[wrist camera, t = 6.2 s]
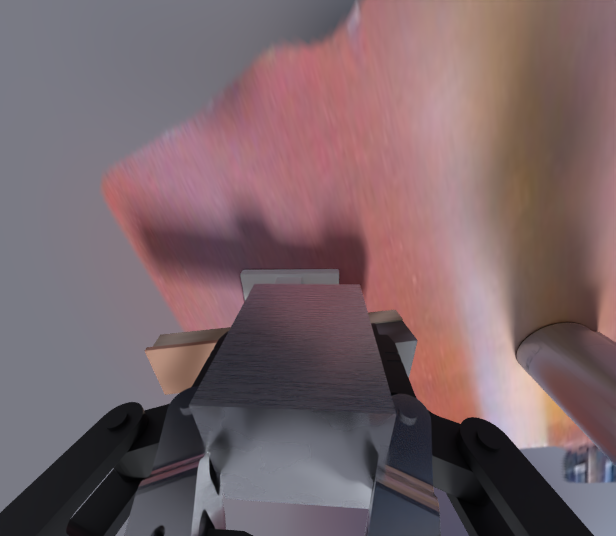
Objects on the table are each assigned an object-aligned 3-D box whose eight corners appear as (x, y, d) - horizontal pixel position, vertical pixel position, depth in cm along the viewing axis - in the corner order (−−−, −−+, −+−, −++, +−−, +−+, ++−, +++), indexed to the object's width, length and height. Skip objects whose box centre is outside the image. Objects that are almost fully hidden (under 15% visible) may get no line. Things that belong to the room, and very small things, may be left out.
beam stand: (338, 268, 28) (345, 314, 20) (336, 337, 33) (341, 397, 25) (242, 269, 29) (212, 314, 21) (254, 336, 34) (233, 395, 26)
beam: (395, 309, 25) (417, 338, 21) (388, 350, 27) (407, 383, 24) (155, 335, 22) (129, 373, 18) (172, 377, 25) (153, 418, 21)
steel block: (359, 284, 11) (396, 414, 5) (353, 361, 13) (375, 509, 8) (254, 283, 11) (189, 405, 6) (265, 359, 13) (226, 498, 8)
